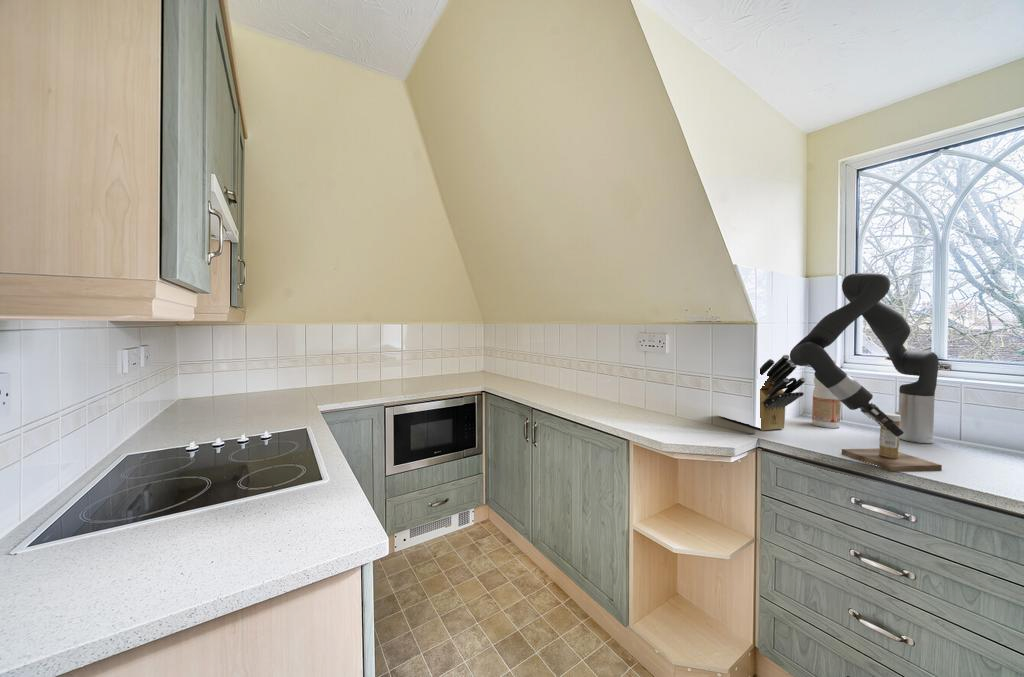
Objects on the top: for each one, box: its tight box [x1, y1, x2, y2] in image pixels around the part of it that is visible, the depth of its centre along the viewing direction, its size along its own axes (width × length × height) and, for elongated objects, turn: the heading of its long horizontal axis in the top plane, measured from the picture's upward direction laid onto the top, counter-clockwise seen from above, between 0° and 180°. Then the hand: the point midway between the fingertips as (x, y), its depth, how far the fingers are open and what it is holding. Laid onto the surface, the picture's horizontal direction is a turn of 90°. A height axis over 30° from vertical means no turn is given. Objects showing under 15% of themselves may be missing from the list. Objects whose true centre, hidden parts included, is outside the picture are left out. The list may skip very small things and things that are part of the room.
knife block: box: [759, 354, 806, 432], centre depth 167 cm, size 11×35×31 cm, turn 13°
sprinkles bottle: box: [879, 412, 901, 458], centre depth 124 cm, size 5×5×13 cm
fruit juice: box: [811, 359, 842, 429], centre depth 168 cm, size 9×9×28 cm
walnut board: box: [841, 447, 943, 472], centre depth 124 cm, size 16×16×2 cm
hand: (894, 431), depth 123 cm, fingers open, 8 cm apart
